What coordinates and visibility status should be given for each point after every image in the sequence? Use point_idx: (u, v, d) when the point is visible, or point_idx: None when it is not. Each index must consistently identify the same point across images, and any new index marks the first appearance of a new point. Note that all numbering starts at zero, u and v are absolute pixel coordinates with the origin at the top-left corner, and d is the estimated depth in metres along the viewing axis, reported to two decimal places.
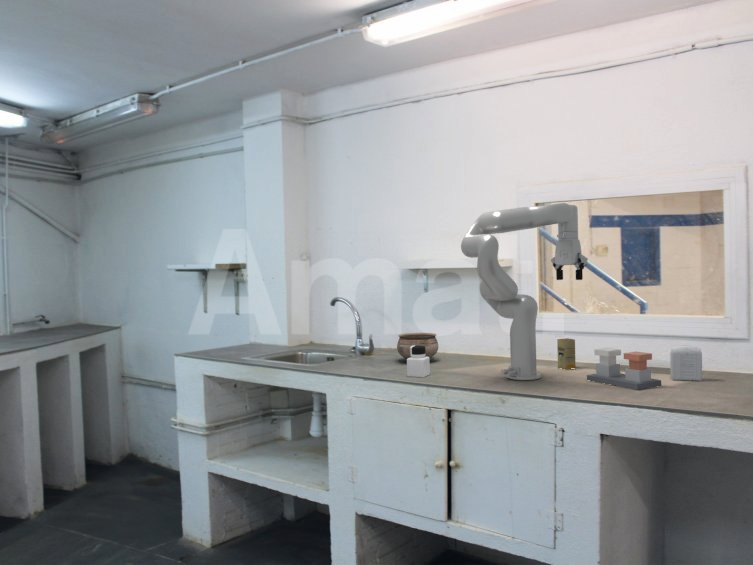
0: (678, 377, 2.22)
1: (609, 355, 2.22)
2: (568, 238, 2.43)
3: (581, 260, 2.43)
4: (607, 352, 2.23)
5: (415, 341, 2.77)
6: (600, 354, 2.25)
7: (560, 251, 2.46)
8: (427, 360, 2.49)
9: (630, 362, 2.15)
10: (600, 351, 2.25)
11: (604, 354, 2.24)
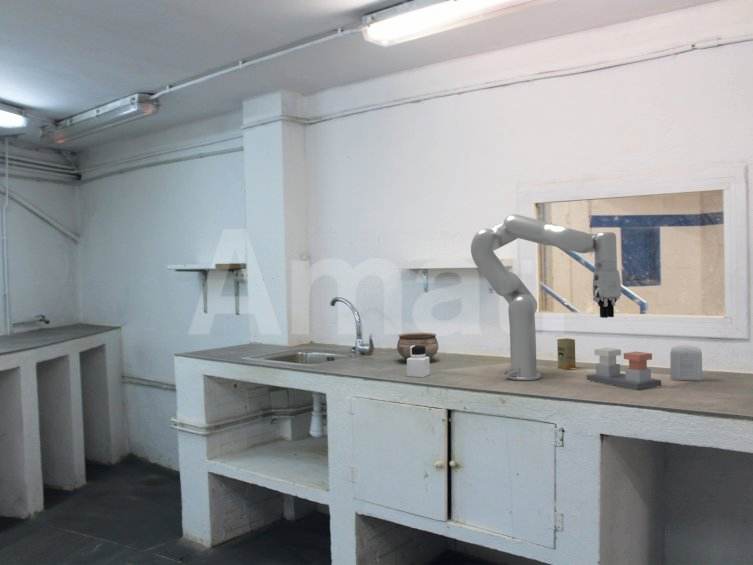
0: (678, 377, 2.22)
1: (609, 355, 2.22)
2: (616, 268, 2.24)
3: None
4: (607, 352, 2.23)
5: (415, 341, 2.77)
6: (600, 354, 2.25)
7: (609, 282, 2.23)
8: (427, 360, 2.49)
9: (630, 362, 2.15)
10: (600, 351, 2.25)
11: (604, 354, 2.24)
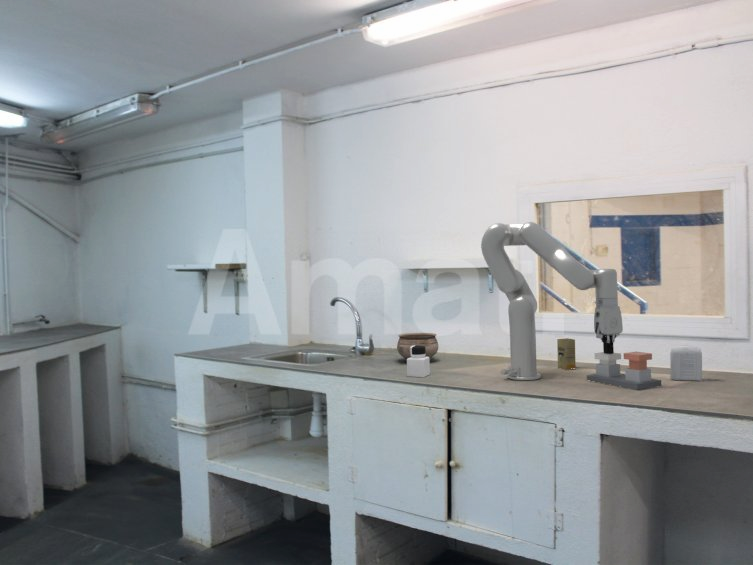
0: (678, 377, 2.22)
1: (609, 359, 2.22)
2: (617, 305, 2.25)
3: None
4: (607, 356, 2.23)
5: (415, 341, 2.77)
6: (600, 358, 2.25)
7: (610, 319, 2.23)
8: (427, 360, 2.49)
9: (630, 362, 2.15)
10: (600, 355, 2.25)
11: (604, 358, 2.24)
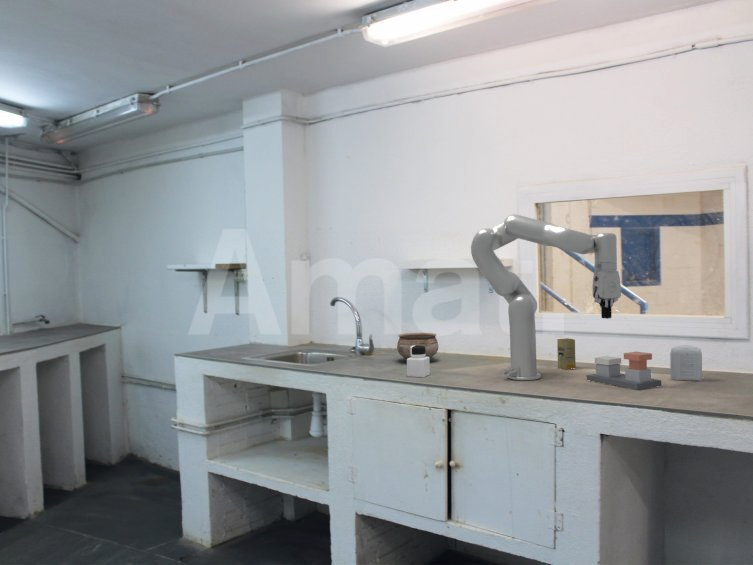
0: (678, 377, 2.22)
1: (609, 363, 2.22)
2: (616, 269, 2.24)
3: None
4: (607, 360, 2.23)
5: (415, 341, 2.77)
6: (600, 362, 2.25)
7: (609, 283, 2.23)
8: (427, 360, 2.49)
9: (630, 362, 2.15)
10: (600, 359, 2.25)
11: (604, 362, 2.24)
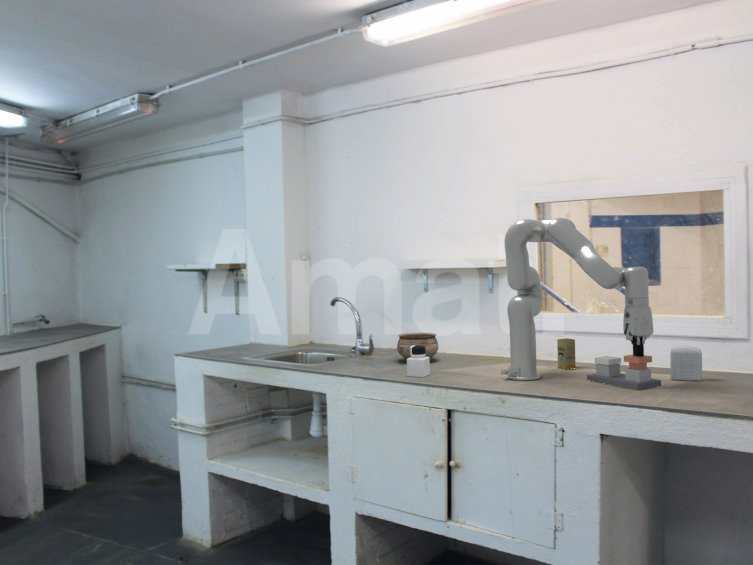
0: (678, 377, 2.22)
1: (609, 363, 2.22)
2: (648, 305, 2.13)
3: None
4: (607, 360, 2.23)
5: (415, 341, 2.77)
6: (600, 362, 2.25)
7: (641, 320, 2.11)
8: (427, 360, 2.49)
9: (630, 365, 2.15)
10: (600, 359, 2.25)
11: (604, 362, 2.24)
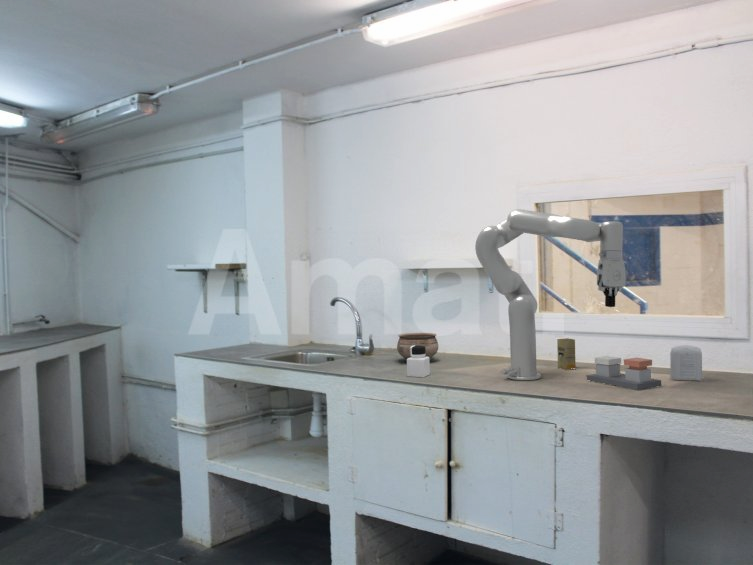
0: (678, 377, 2.22)
1: (609, 363, 2.22)
2: None
3: None
4: (607, 360, 2.23)
5: (415, 341, 2.77)
6: (600, 362, 2.25)
7: (613, 272, 2.22)
8: (427, 360, 2.49)
9: (630, 368, 2.15)
10: (600, 359, 2.25)
11: (604, 362, 2.24)
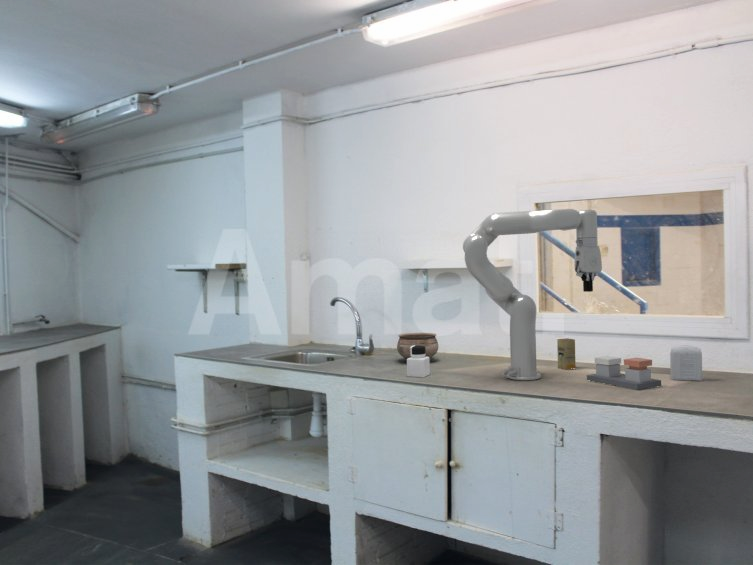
0: (678, 377, 2.22)
1: (609, 363, 2.22)
2: (597, 244, 2.34)
3: None
4: (607, 360, 2.23)
5: (415, 341, 2.77)
6: (600, 362, 2.25)
7: (590, 258, 2.33)
8: (427, 360, 2.49)
9: (630, 368, 2.15)
10: (600, 359, 2.25)
11: (604, 362, 2.24)
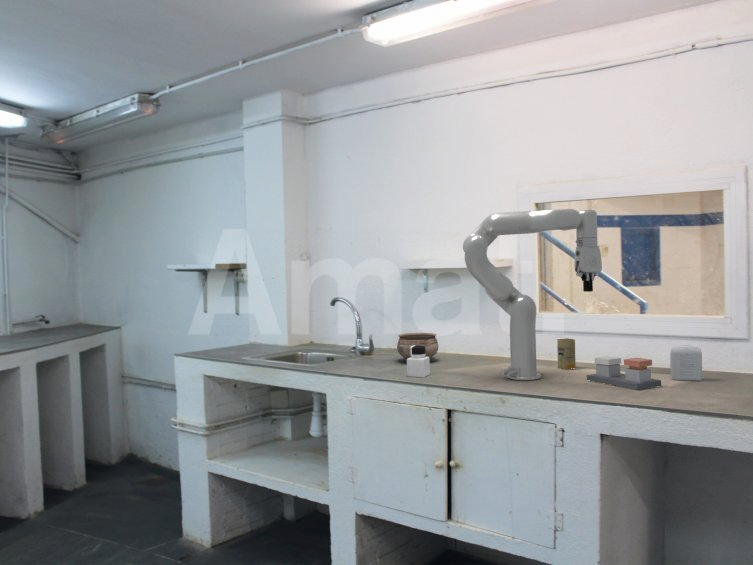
0: (678, 377, 2.22)
1: (609, 363, 2.22)
2: (597, 244, 2.34)
3: None
4: (607, 360, 2.23)
5: (415, 341, 2.77)
6: (600, 362, 2.25)
7: (589, 258, 2.33)
8: (427, 360, 2.49)
9: (630, 368, 2.15)
10: (600, 359, 2.25)
11: (604, 362, 2.24)
